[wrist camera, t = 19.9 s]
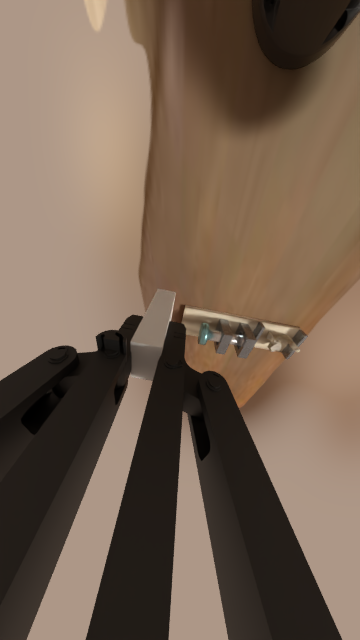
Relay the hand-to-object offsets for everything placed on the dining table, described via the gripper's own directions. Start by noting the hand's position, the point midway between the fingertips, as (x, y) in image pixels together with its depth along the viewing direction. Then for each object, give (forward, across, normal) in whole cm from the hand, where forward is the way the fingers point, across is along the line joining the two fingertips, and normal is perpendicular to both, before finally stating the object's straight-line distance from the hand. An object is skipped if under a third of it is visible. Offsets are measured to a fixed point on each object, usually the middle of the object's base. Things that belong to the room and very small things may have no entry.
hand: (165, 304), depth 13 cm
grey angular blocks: (+29, +27, -20) cm, 45 cm away
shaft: (+27, +17, -20) cm, 37 cm away
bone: (+28, +33, -20) cm, 48 cm away
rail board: (+29, +22, -20) cm, 42 cm away
